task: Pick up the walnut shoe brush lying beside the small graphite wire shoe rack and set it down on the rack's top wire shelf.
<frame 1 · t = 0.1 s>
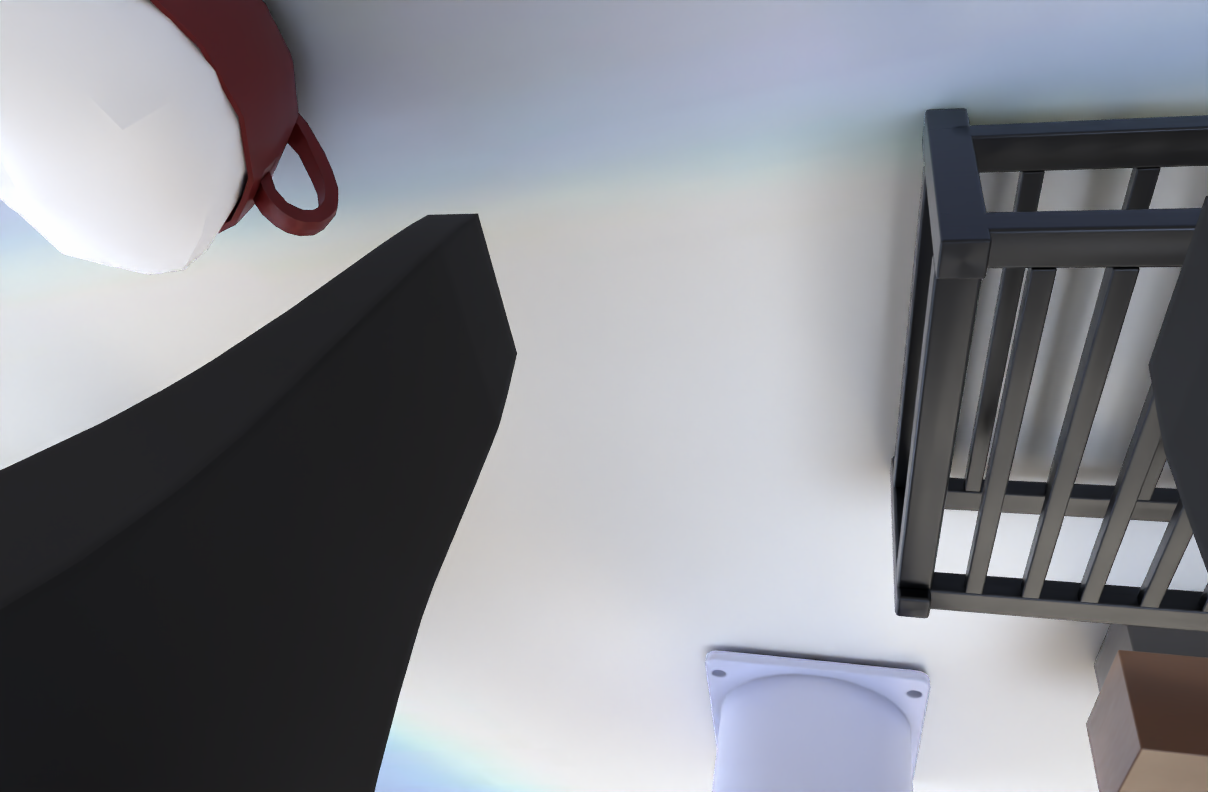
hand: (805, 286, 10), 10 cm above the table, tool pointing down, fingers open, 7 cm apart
cocoa: (192, 16, 20), on the table
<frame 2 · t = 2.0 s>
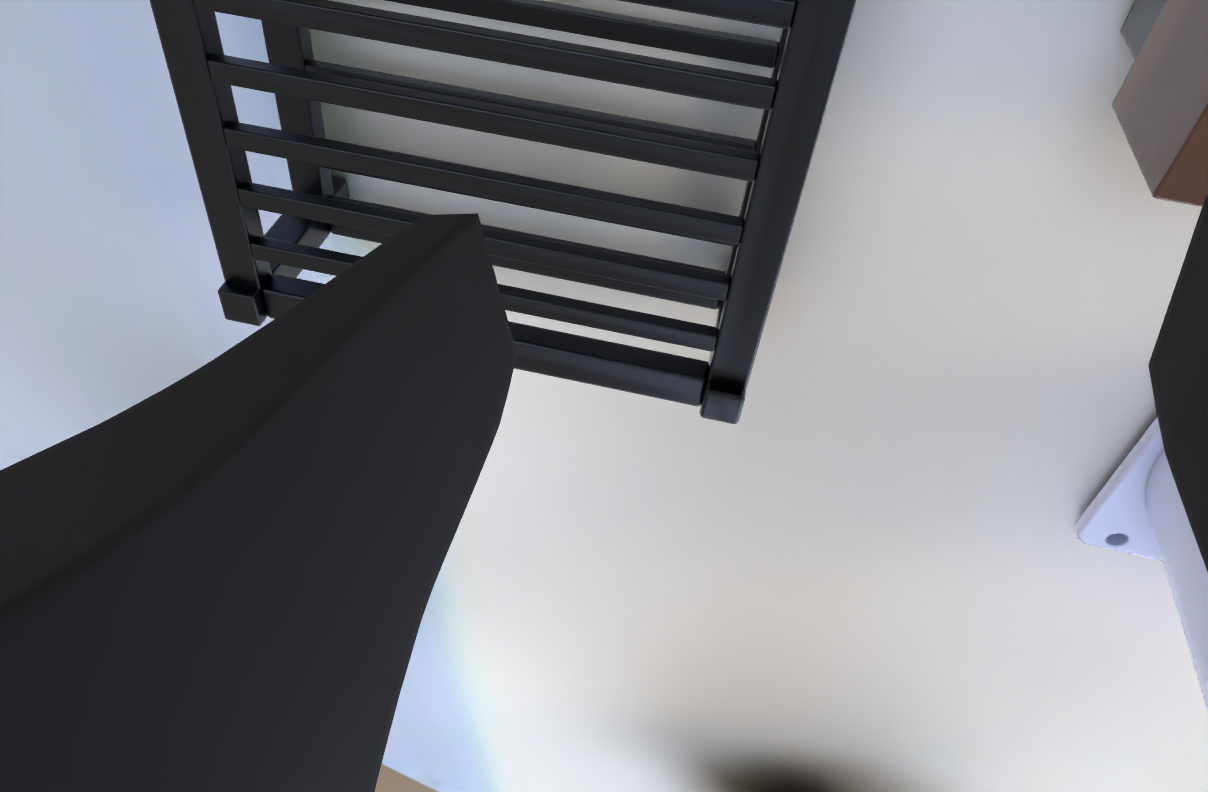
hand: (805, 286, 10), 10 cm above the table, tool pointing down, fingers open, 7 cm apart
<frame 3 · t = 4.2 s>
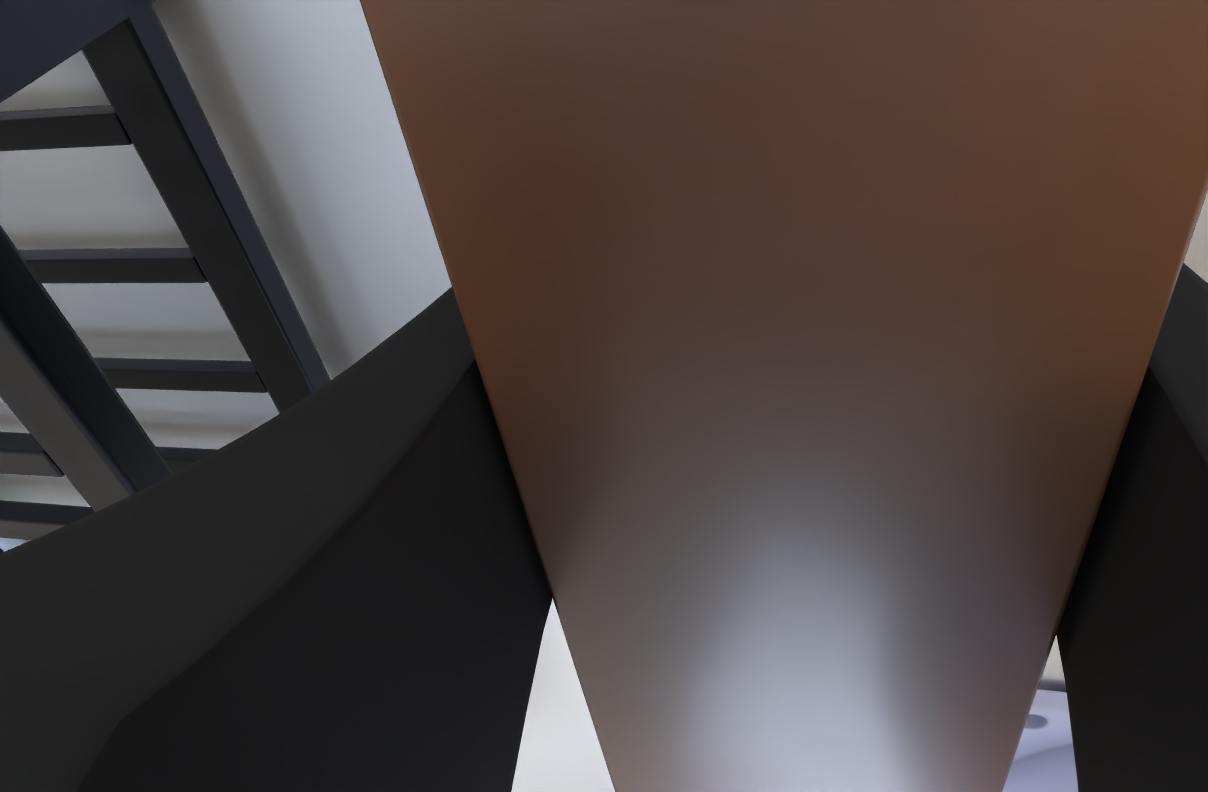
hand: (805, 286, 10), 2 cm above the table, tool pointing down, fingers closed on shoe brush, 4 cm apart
shoe rack: (115, 412, 16), on the table
shoe brush: (808, 206, 11), on the table, touching gripper
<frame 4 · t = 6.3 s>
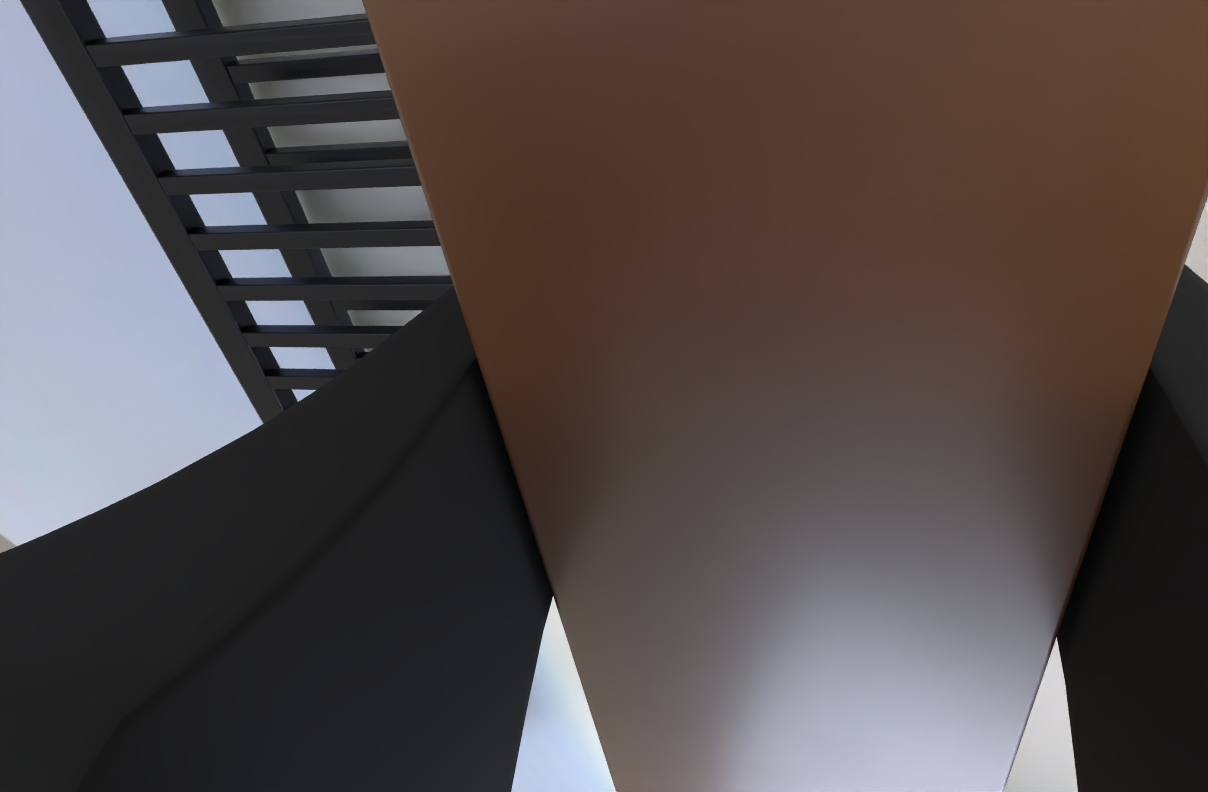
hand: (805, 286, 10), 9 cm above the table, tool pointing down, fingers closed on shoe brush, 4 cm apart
shoe rack: (479, 125, 20), on the table
shoe brush: (809, 204, 11), point 8 cm above the table, touching gripper
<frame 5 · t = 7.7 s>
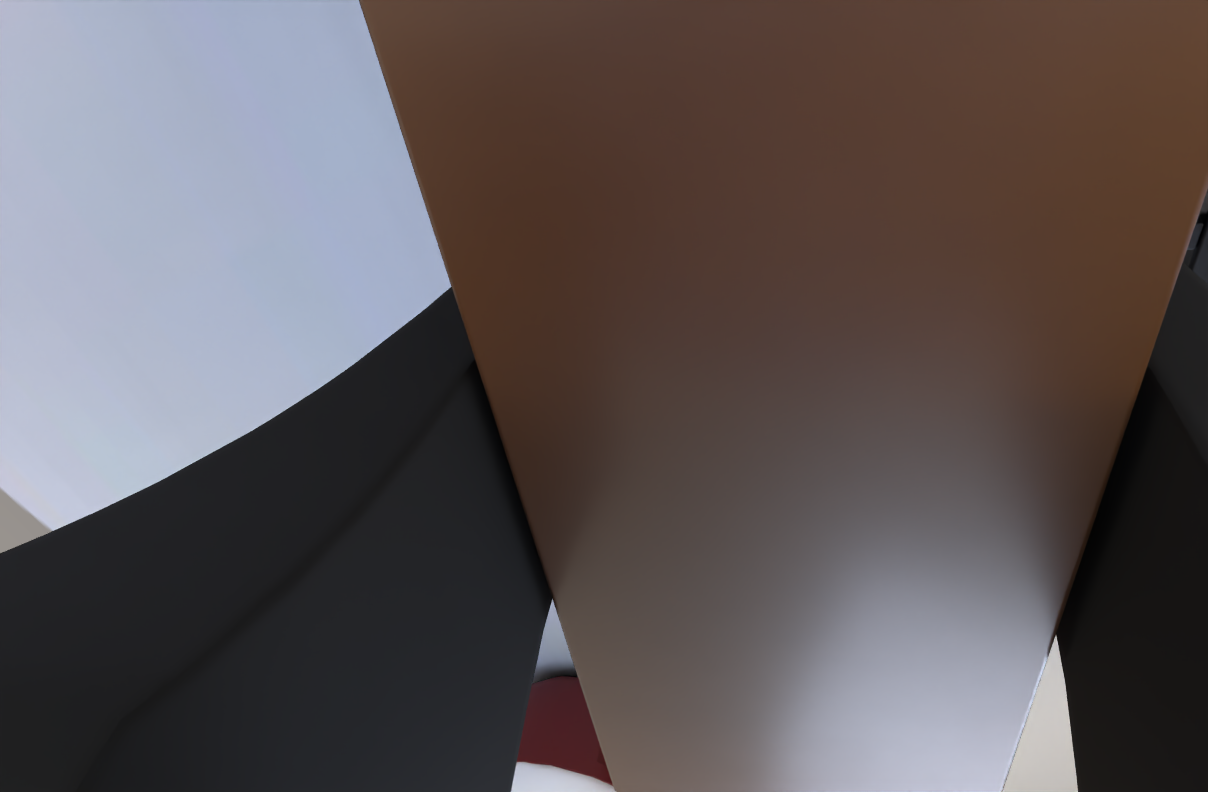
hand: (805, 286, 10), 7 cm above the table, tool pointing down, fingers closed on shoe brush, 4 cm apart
shoe rack: (824, 25, 15), on the table
cocoa: (577, 696, 33), on the table
shoe brush: (808, 203, 11), point 6 cm above the table, touching gripper
when the fingers open (6 cm above the table, at t = 8.6 s): shoe brush stays where it is, resting on shoe rack.
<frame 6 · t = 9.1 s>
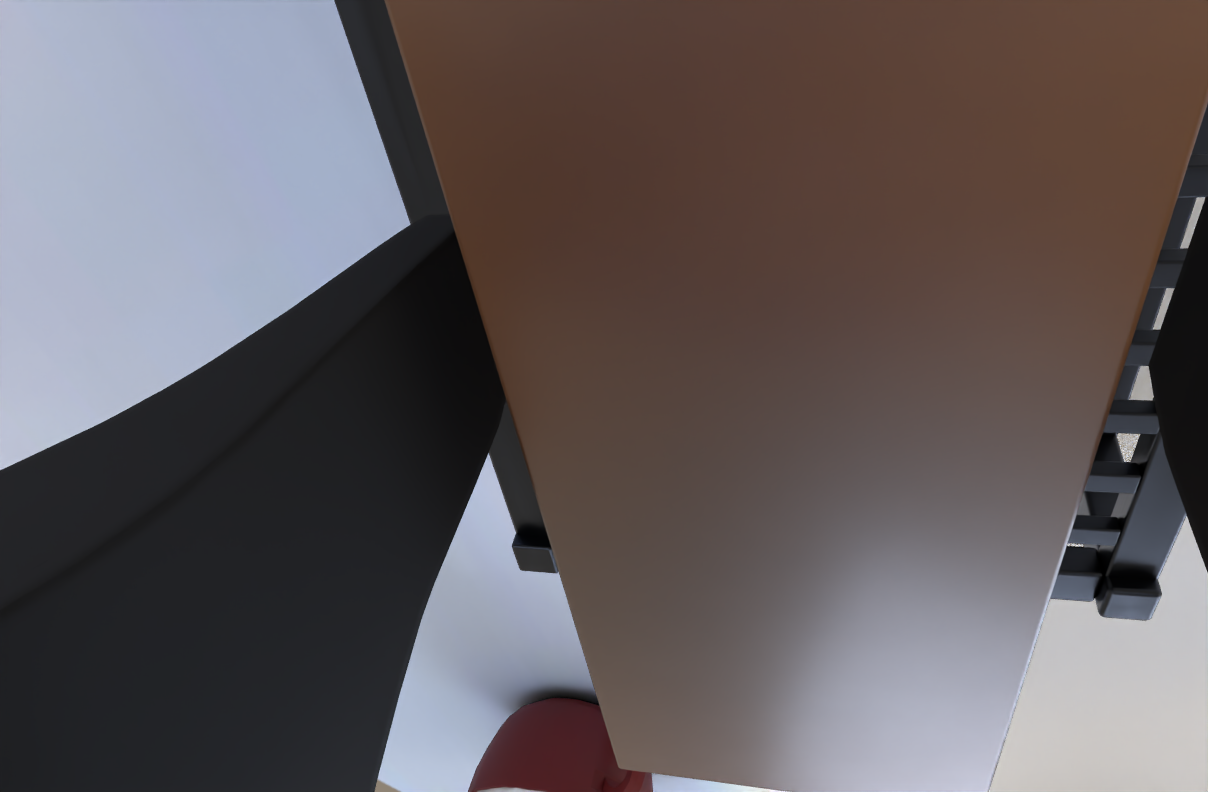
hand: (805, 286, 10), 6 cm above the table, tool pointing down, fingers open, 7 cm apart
shoe rack: (822, 44, 14), on the table
cocoa: (571, 716, 32), on the table
shoe brush: (807, 189, 11), point 4 cm above the table, touching shoe rack
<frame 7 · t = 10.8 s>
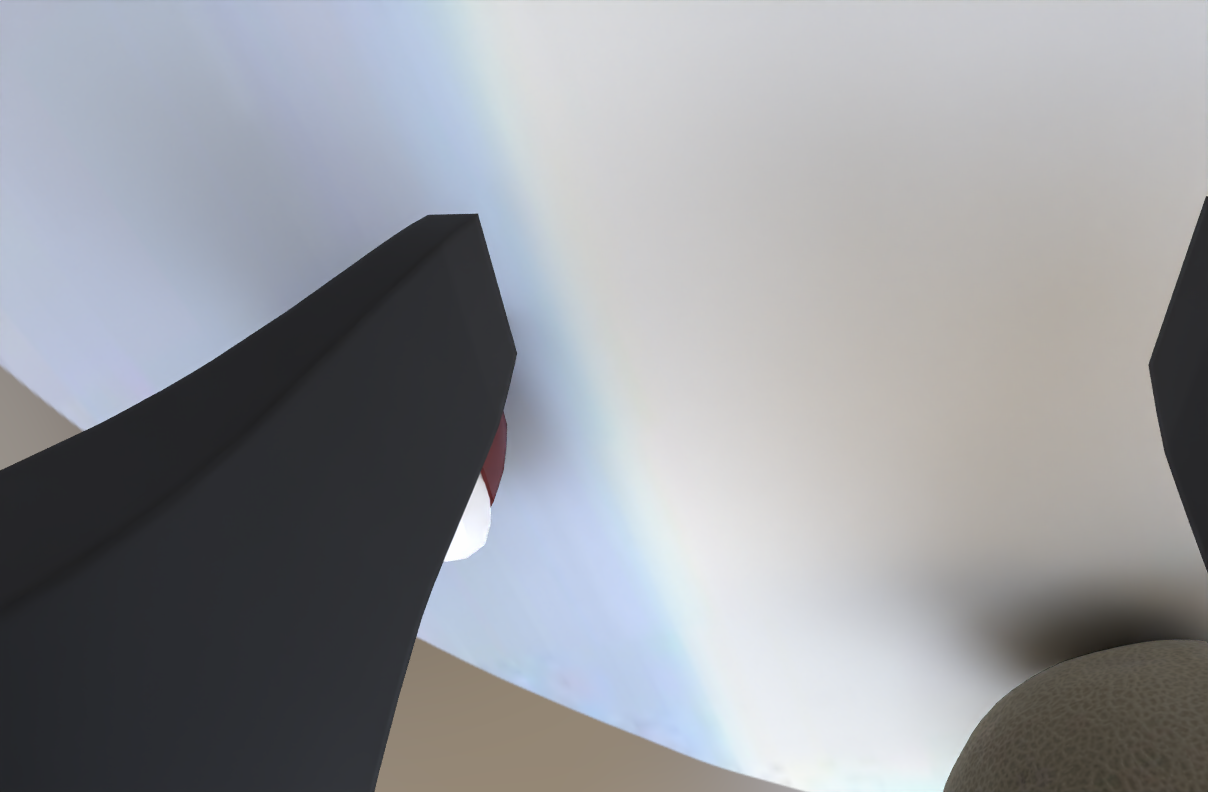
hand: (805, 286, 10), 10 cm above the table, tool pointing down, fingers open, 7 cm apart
cocoa: (418, 380, 27), on the table
cantaloupe: (1148, 648, 28), on the table
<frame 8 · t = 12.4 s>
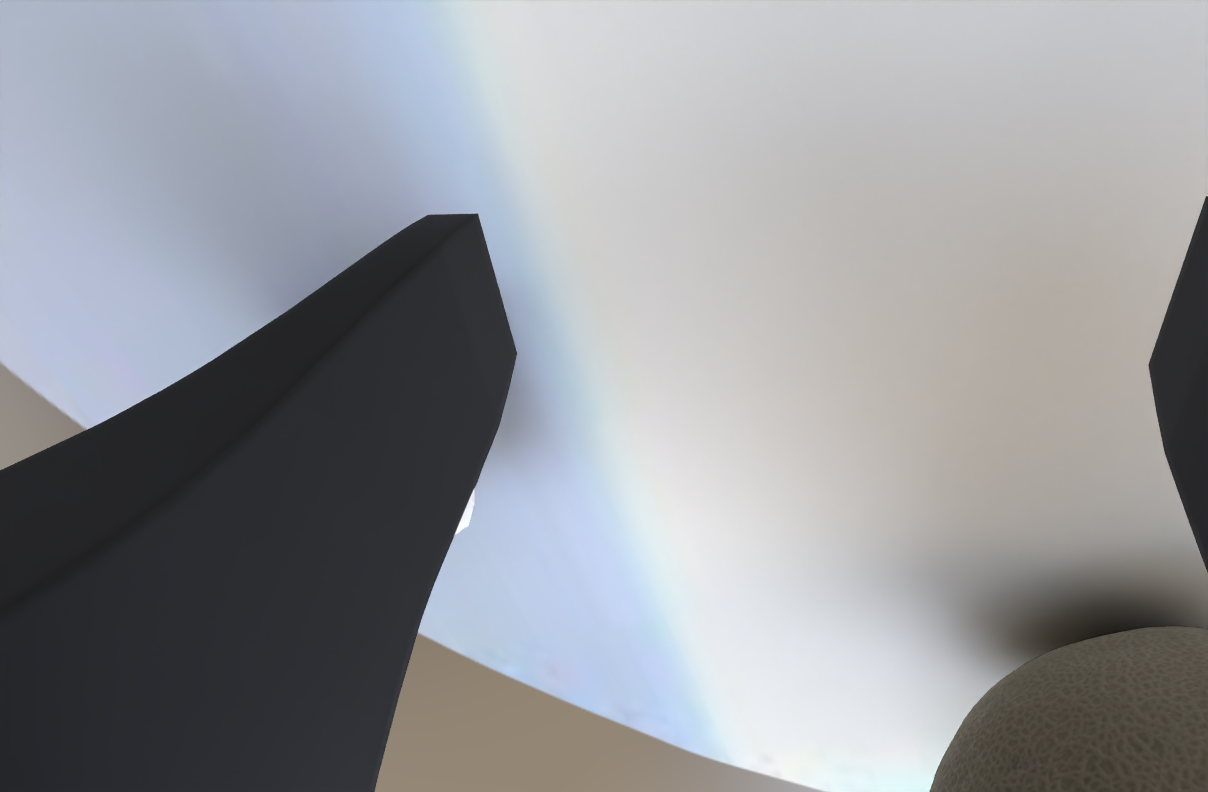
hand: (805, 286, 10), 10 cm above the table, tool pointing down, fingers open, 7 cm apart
cocoa: (403, 359, 26), on the table
cantaloupe: (1142, 636, 28), on the table
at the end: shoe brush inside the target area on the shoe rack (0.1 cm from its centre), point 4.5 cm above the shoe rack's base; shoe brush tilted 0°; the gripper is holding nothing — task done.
